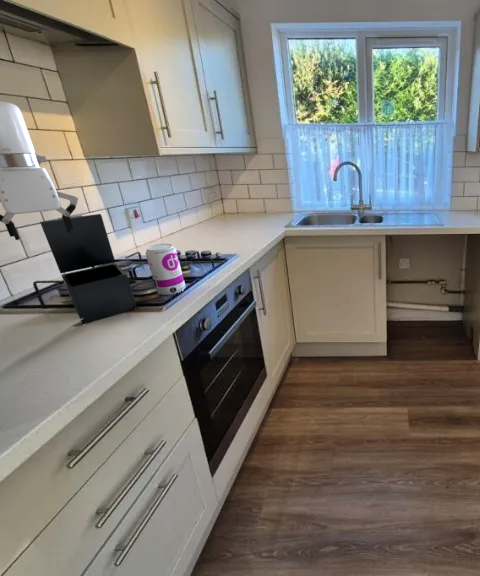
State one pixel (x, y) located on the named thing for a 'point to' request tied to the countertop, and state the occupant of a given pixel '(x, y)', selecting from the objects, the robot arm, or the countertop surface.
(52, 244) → the bin lid
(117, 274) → the bin
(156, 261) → the supplement can
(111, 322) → the countertop surface
